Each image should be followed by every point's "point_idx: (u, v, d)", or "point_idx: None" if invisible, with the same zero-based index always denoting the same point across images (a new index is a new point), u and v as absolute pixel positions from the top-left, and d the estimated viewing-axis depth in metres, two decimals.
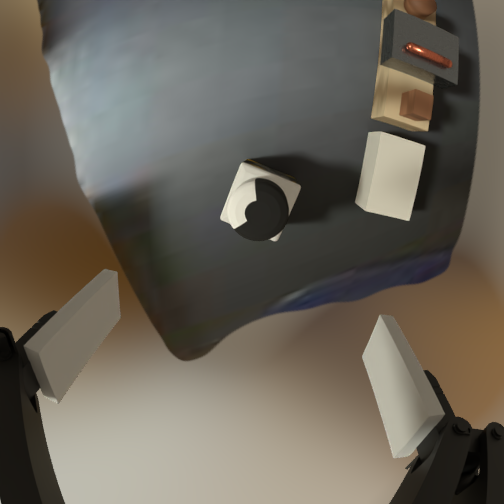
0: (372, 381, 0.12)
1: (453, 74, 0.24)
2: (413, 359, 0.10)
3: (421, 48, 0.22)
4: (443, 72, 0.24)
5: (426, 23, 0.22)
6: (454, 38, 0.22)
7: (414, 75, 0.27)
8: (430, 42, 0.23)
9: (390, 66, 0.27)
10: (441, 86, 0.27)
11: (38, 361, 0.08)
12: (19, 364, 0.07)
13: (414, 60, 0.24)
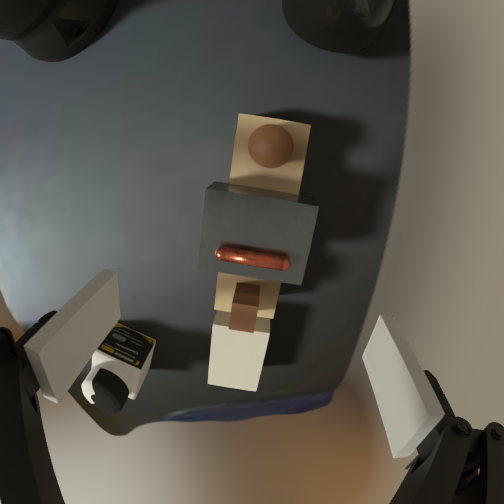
0: (372, 381, 0.12)
1: (296, 271, 0.25)
2: (413, 359, 0.10)
3: (234, 257, 0.24)
4: (277, 273, 0.25)
5: (258, 200, 0.23)
6: (309, 211, 0.23)
7: None
8: (260, 232, 0.24)
9: None
10: None
11: (38, 361, 0.08)
12: (19, 364, 0.07)
13: (230, 267, 0.25)
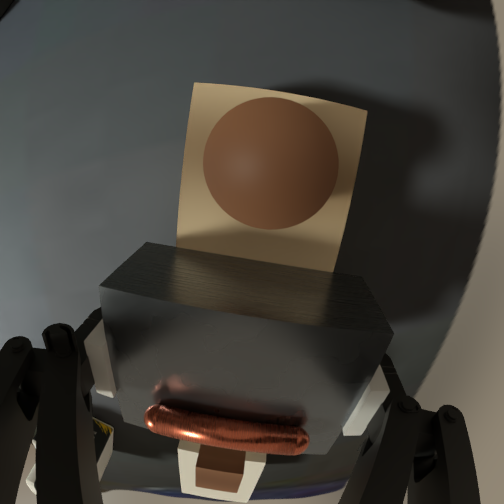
0: None
1: (319, 440, 0.10)
2: None
3: (183, 436, 0.09)
4: None
5: (233, 323, 0.08)
6: (369, 346, 0.08)
7: None
8: (243, 387, 0.09)
9: None
10: None
11: (99, 355, 0.09)
12: (78, 363, 0.08)
13: None
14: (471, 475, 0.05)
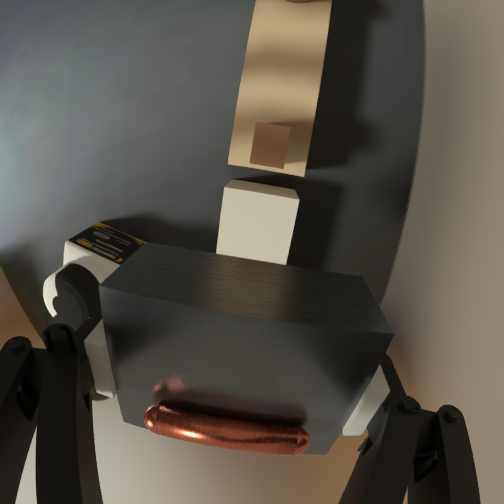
0: None
1: (319, 440, 0.10)
2: None
3: (183, 436, 0.09)
4: None
5: (233, 323, 0.08)
6: (369, 345, 0.08)
7: None
8: (243, 387, 0.09)
9: None
10: None
11: (99, 356, 0.09)
12: (78, 363, 0.08)
13: None
14: (471, 476, 0.05)
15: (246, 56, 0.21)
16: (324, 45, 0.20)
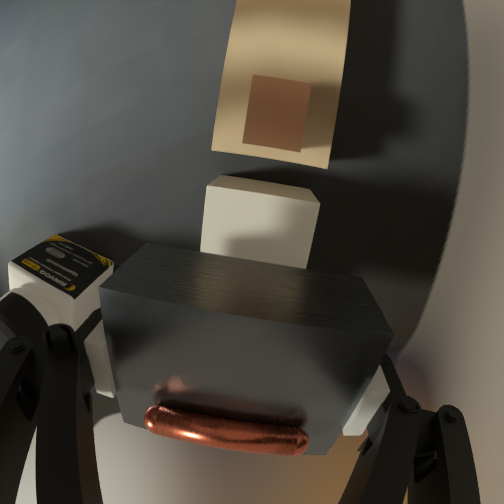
0: None
1: (319, 441, 0.10)
2: None
3: (183, 437, 0.09)
4: None
5: (233, 324, 0.08)
6: (369, 347, 0.08)
7: None
8: (242, 388, 0.09)
9: None
10: None
11: (99, 356, 0.09)
12: (78, 363, 0.08)
13: None
14: (471, 476, 0.05)
15: None
16: None
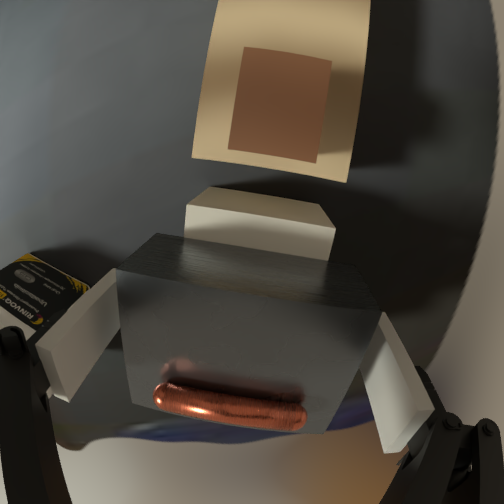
0: (364, 376, 0.13)
1: (316, 419, 0.11)
2: (404, 354, 0.10)
3: (189, 411, 0.10)
4: None
5: (237, 301, 0.09)
6: (360, 323, 0.09)
7: None
8: (245, 363, 0.10)
9: None
10: None
11: (50, 359, 0.08)
12: (30, 363, 0.07)
13: None
14: (500, 487, 0.04)
15: None
16: None
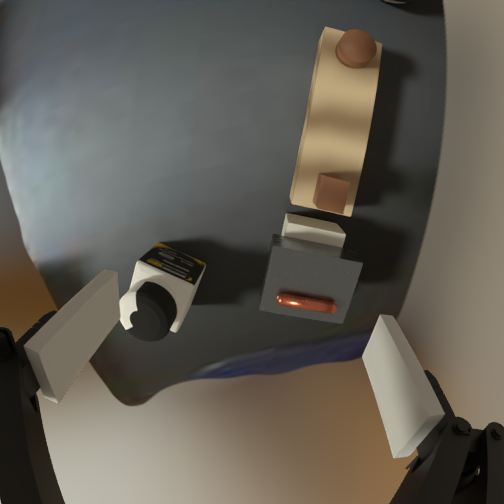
0: (372, 381, 0.12)
1: (339, 313, 0.30)
2: (413, 359, 0.10)
3: (293, 303, 0.28)
4: (325, 314, 0.30)
5: (315, 257, 0.28)
6: (355, 266, 0.28)
7: None
8: (315, 282, 0.29)
9: None
10: None
11: (38, 361, 0.08)
12: (19, 364, 0.07)
13: (287, 309, 0.30)
14: None
15: (311, 113, 0.27)
16: (372, 108, 0.26)
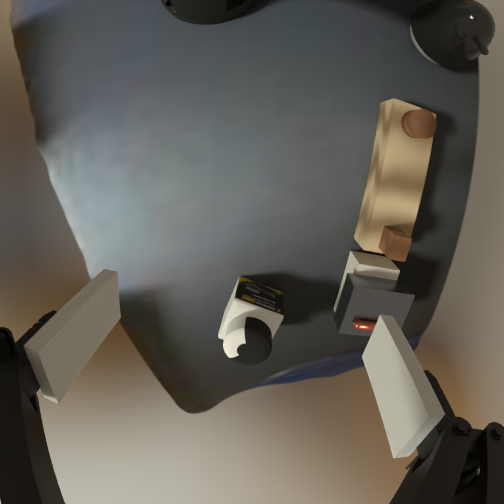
0: (372, 381, 0.12)
1: None
2: (413, 359, 0.10)
3: (366, 327, 0.35)
4: None
5: (383, 293, 0.35)
6: (409, 298, 0.35)
7: None
8: (381, 310, 0.36)
9: None
10: None
11: (38, 361, 0.08)
12: (19, 364, 0.07)
13: (359, 331, 0.37)
14: None
15: (381, 178, 0.34)
16: (425, 172, 0.33)
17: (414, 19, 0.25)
